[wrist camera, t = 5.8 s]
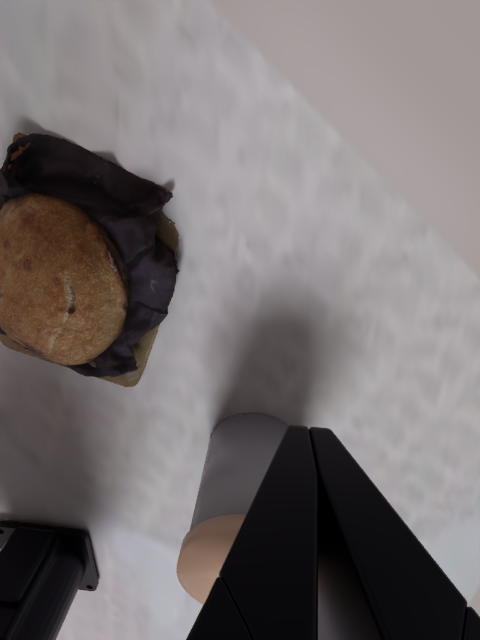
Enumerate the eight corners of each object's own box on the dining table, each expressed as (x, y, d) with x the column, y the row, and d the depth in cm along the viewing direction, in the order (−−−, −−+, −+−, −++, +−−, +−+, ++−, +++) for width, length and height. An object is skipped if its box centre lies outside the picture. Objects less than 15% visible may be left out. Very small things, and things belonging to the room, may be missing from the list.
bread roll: (148, 385, 20) (123, 434, 16) (-6, 332, 19) (-64, 373, 16) (208, 194, 15) (189, 209, 12) (6, 114, 14) (-73, 106, 11)
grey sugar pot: (296, 486, 21) (305, 624, 15) (205, 477, 22) (178, 608, 15) (308, 414, 19) (324, 544, 13) (206, 405, 19) (173, 527, 13)
